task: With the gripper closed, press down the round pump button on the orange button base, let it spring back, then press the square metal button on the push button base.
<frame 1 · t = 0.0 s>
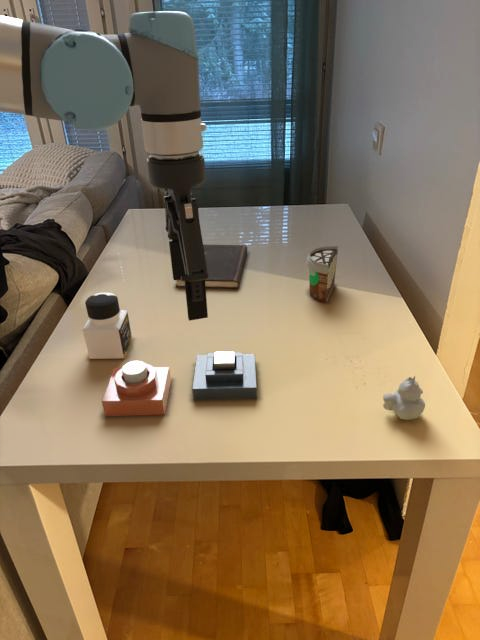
hand: (189, 296, 72), 19 cm above the table, tool pointing down, fingers open, 13 cm apart
push button base: (225, 380, 85), on the table
pump square: (224, 361, 83), point 4 cm above the table, slide at 0.1 cm
medicine bottle: (111, 349, 95), on the table
food container: (317, 292, 113), on the table
pump round: (134, 372, 79), point 6 cm above the table, slide at 0.1 cm
hardcover book: (214, 269, 127), on the table
white lumpy figurine: (401, 415, 76), on the table
orange button base: (139, 397, 82), on the table
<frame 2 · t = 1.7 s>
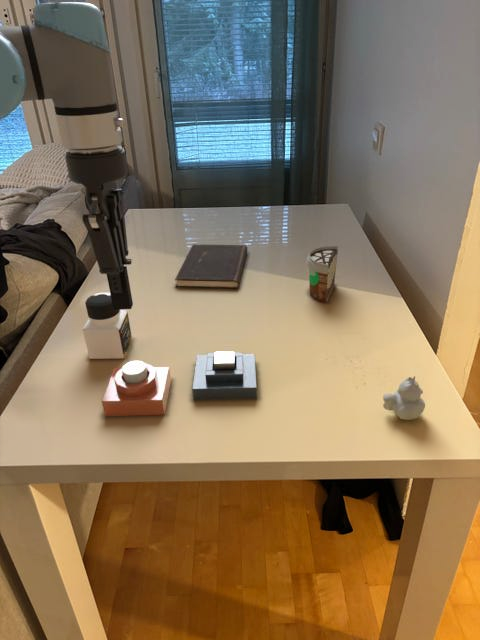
hand: (123, 306, 72), 18 cm above the table, tool pointing down, fingers closed
nothing on the table moved.
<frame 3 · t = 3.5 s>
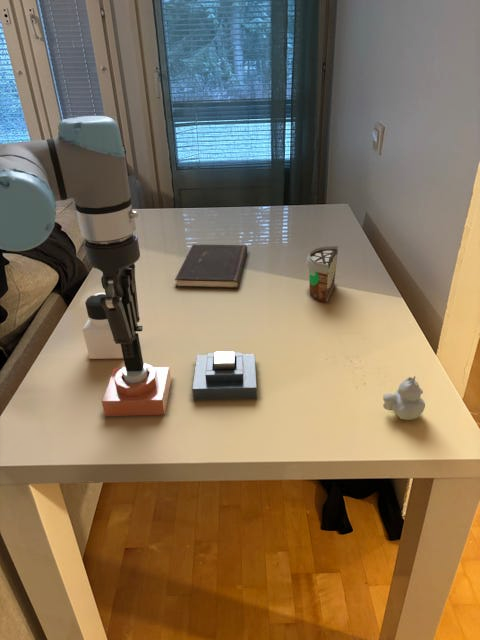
hand: (134, 368, 78), 6 cm above the table, tool pointing down, fingers closed
pump round: (135, 374, 79), point 5 cm above the table, slide at -0.4 cm, touching gripper
everything else where it was.
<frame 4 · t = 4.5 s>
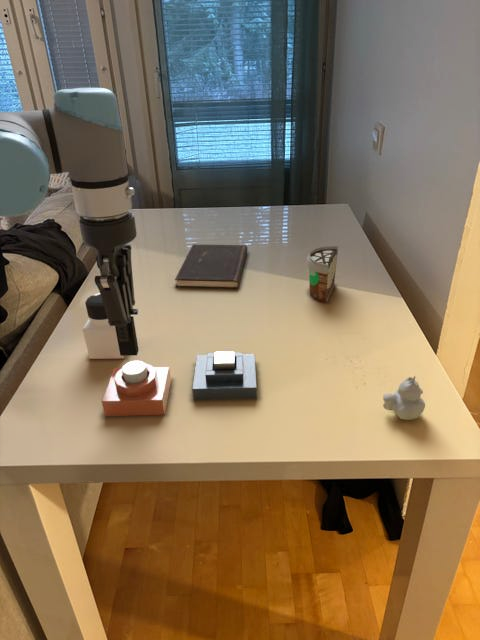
hand: (129, 352, 76), 10 cm above the table, tool pointing down, fingers closed
pump round: (134, 372, 79), point 6 cm above the table, slide at 0.1 cm
everything else where it was.
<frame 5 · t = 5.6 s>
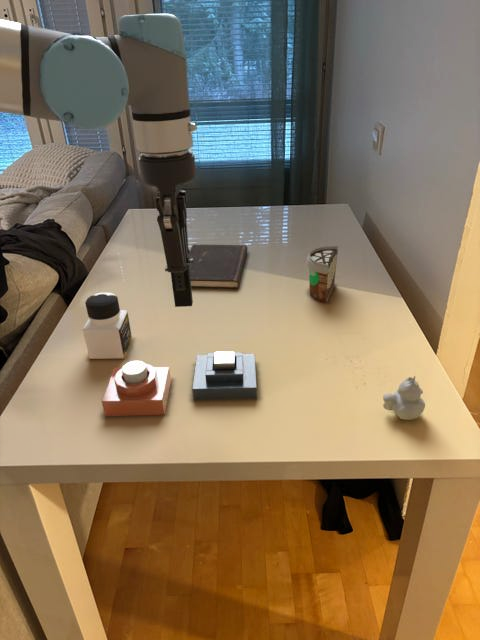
hand: (184, 304, 75), 17 cm above the table, tool pointing down, fingers closed
nothing on the table moved.
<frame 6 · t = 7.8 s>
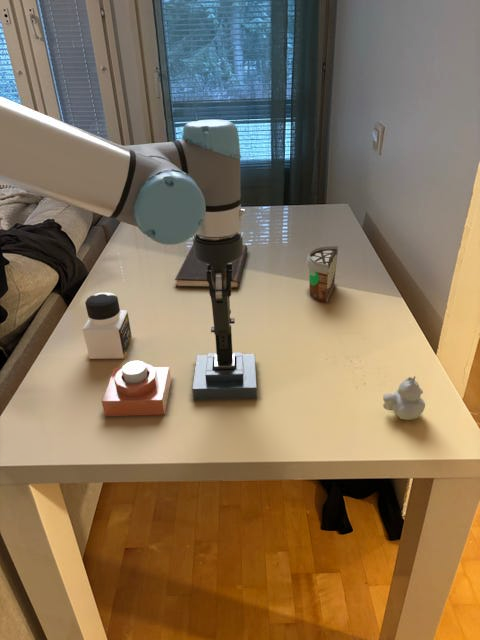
hand: (224, 358, 82), 5 cm above the table, tool pointing down, fingers closed
pump square: (224, 364, 83), point 4 cm above the table, slide at -0.6 cm, touching gripper
everything else where it was.
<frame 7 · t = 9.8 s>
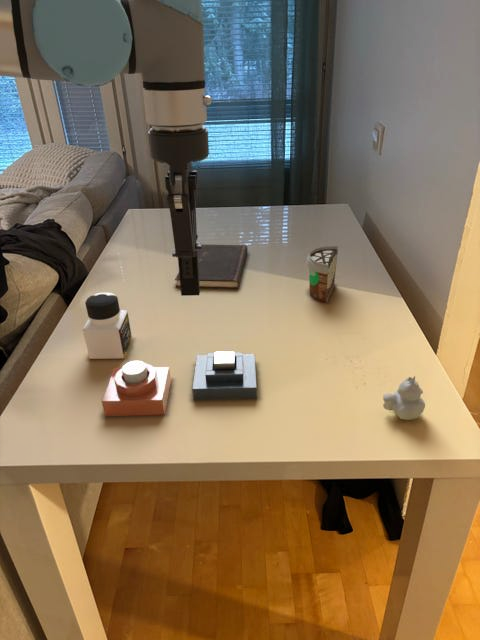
hand: (190, 293, 70), 21 cm above the table, tool pointing down, fingers closed
pump square: (224, 361, 83), point 4 cm above the table, slide at 0.1 cm
everything else where it was.
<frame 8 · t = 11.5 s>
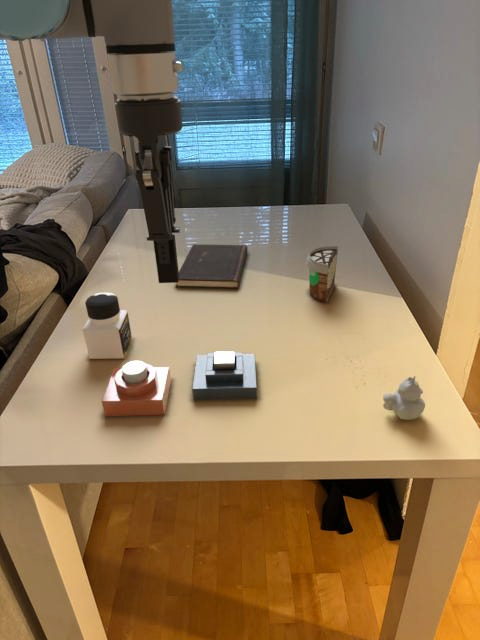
hand: (169, 280, 66), 24 cm above the table, tool pointing down, fingers closed
nothing on the table moved.
at the end: pump round pushed in 0.8 cm at the most during the clip, back to where it started at the end; pump square pushed in 0.6 cm at the most during the clip, back to where it started at the end; pump square slide at 0.1 cm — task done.
